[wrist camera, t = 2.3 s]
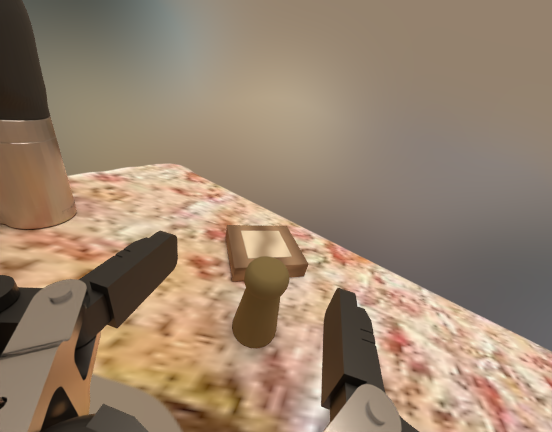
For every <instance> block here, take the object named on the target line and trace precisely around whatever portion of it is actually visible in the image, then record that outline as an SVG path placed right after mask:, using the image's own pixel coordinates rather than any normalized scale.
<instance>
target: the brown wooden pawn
mask: <svg viewBox="0 0 552 432" xmlns="http://www.w3.org/2000/svg"><path fill="white" fill-rule="evenodd" d="M244 282H245V285H246V289H245V291H244V294H243V297H242V299H241V302H240V304H239V307H238V309H237V312H236V314H235V317H234V319H233V324H232V329H233V334H234V336H235V337H236V339H237V340H238V341H239V342H240V343H241V344H242V345H244V346H247V347H249V348H260V347H264V346H266V345H267V344H269V343H270V342H271V341H272V339H273V338H274V336H275V332H276V327H277V319H278V311H279V303H280V296H281V295H282V294H283V293H284V292H285V290H286V289H287V287H288V283H289V272H288V270H287V268H286V266H285V265H284V264H283V263H282V262H281V261H280V260H278V259H276V258H273V257H269V256H262V257H258V258H255V259H254V260H253V261H252V262H250V263H249V265H248V267H247V268H246V270H245V276H244Z"/></svg>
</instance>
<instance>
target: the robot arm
mask: <svg viewBox="0 0 552 432" xmlns="http://www.w3.org/2000/svg"><path fill="white" fill-rule="evenodd" d="M76 211H77V210H76V206H75V201H74V199H73V196H72V192H71V188H70V184H69V181H68V177H67V174H66V170H65V167H64V164H63V160H62V156H61V152H60V149H59V145H58V142H57V138H56V135H55V131H54V128H53V124H52V120H51V117H50V113H49V109H48V104H47V95H46V88H45V84H44V81H43V76H42V72H41V67H40V63H39V58H38V54H37V48H36V43H35V38H34V34H33V30H32V25H31V22H30V19H29V16H28V13H27V10H26V8H25V6H24V4H23V1H22V0H0V224H6V225H8V226H10V227H14V228H20V229H35V228H43V227H49V226H53V225H57V224H60V223H62V222H65V221H67V220H69V219H71V218H72V217H73V216H74V215H75V214H76ZM177 260H178V255H177V237H176V236H175V235H173V234H170V233H166V232H163V231H158V232H157V233H155V234H154V235H153V236H151V237H150V238H143V239H141V240H138V241H135V242H133V243H132V244H130V245H129V246H127V247H126V248H124V250H121V251H120V252H119V253H117V254H116V255H115V256H113V257H111V258H110V259H108V260H107V261H105V262H104V263H103V264H101V265H100V266H98V267H97V268H95V269H94V270H92V271H91V272H89V273H88V274H87V275H85V276H84V277H82V278H81V279H79V280H75V279H69V280H62V281H59V282H55V283H53V284H50V285H48V286H46V287H45V288H22V287H17V285H16V283H15V281H14V279H13V278H12V277H9V276H5V275H0V432H148V431H147V430H146V429H145V428H144V427H143V426H142V425H141V423H139V422H138V421H137V419H136V418H135V417H133V416H131V415H129V414H126V413H124V412H122V411H119V410H117V409H114V408H112V407H109V406H107V405H105V404H103V405H102V406H101V408H100V409H99V410H98V412H97V413H96V414H89V406H90V382H91V377H92V372H93V368H94V363H95V359H96V354H97V349H98V345H99V340H100V336H101V332H100V331H101V330H102V329H103V328H104V327H105V326H106V325H109V326H112V327H115V328H118V327H119V326H120V325H121V324H122V323H123V322H124V321H125V320H126V319H127V318H128V317H129V316H130V315H131V314H132V313H133V312H134V311H135V310H136V309H137V307H138V306H139V305H140V304H141V303H142V302H143V301H144V300H145V299H146V298H147V297H148V296H149V295H150V294H151V293H152V292H153V291H154V290H155V289H156V288H157V287H158V286H159V285H160V284H161V283H162V282H163V280H164V279H165V278H166V277H167V276H168V275H169V274H170V273H171V272H172V271H173V270H174V268H175V266H176V264H177ZM321 407H324V408H327V409H329V410H330V423H329V424H328V425H327V427H326V428H325V429H324V431H323V432H419V431H417V430H416V429H415V428H413V427H412V426H411V425H409V424H408V423H407V422H406V421H405V420H403V419H402V418H401V417H400V415H399V413H398V411H397V409H396V407H395V405H394V403H393V402H392V401H391V399H390V398H389V397H388V396H387V395H386V393H385V390H384V385H383V380H382V375H381V370H380V364H379V359H378V354H377V349H376V346H375V338H374V335H373V328H372V322H371V320H370V318H369V316H368V314H367V313H366V311H365V309H363V308H360V307H357V301H356V295H355V293H353V292H350V291H346V290H343V289H340V288H337V290H336V291H335V293H334V295H333V297H332V300H331V302H330V304H329V306H328V308H327V310H326V313H325V317H324V331H323V363H322V395H321ZM88 414H89V415H88Z"/></svg>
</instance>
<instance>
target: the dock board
mask: <svg viewBox="0 0 552 432" xmlns="http://www.w3.org/2000/svg"><path fill="white" fill-rule="evenodd" d="M226 243H227V249H228V255H229V262H230V268H231V274H232V281H233V282H235V281H244V276H245V270H246V268H247V267H248V265H249V263H250V262H252V261H253V260H254V259H255V258H258V257H262V256H269V257H273V258H276V259H278V260H280V261H281V262H282V263H283V264H284V265H285V266H286V268H287V270H288V272H289V277H300V276H304V275H305V272H306V269H307V267H308V262H307V261H306V259H305V257H304V255H303V254H302V252H301V250H300V248H299V247H298V245H297V243H296V241H295V240H294V238H293V236H292V234H291V233H290V231H289V229H288V227H287V226H245V225H227V230H226Z"/></svg>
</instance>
